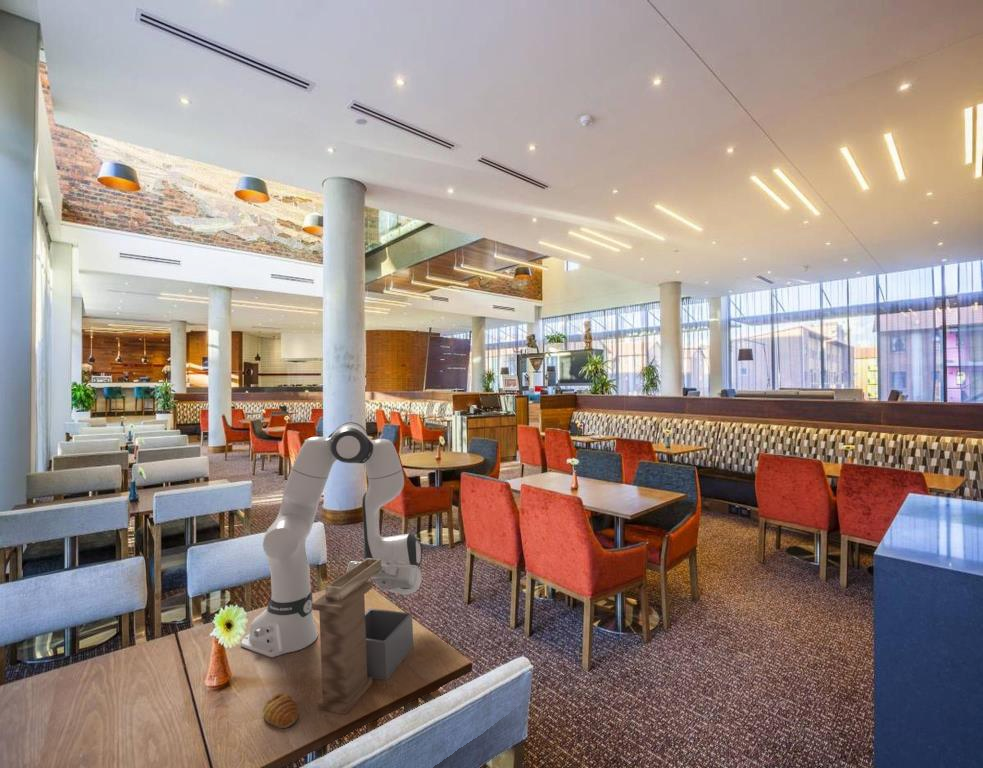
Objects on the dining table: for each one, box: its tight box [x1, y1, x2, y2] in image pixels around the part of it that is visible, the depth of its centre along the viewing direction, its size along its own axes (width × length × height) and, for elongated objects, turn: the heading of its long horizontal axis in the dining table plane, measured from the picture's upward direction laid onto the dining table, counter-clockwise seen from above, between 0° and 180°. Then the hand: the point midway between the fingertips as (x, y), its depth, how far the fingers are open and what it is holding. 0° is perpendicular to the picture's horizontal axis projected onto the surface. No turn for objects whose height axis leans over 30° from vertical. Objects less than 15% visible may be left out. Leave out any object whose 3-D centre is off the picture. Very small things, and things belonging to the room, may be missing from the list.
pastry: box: [262, 693, 299, 729], centre depth 114 cm, size 9×7×4 cm
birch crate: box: [325, 558, 381, 601], centre depth 127 cm, size 4×19×3 cm, turn 163°
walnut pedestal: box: [312, 581, 373, 715], centre depth 122 cm, size 8×14×26 cm, turn 163°
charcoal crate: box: [365, 608, 414, 681], centre depth 136 cm, size 14×16×10 cm
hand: (368, 567), depth 133 cm, fingers open, 8 cm apart
